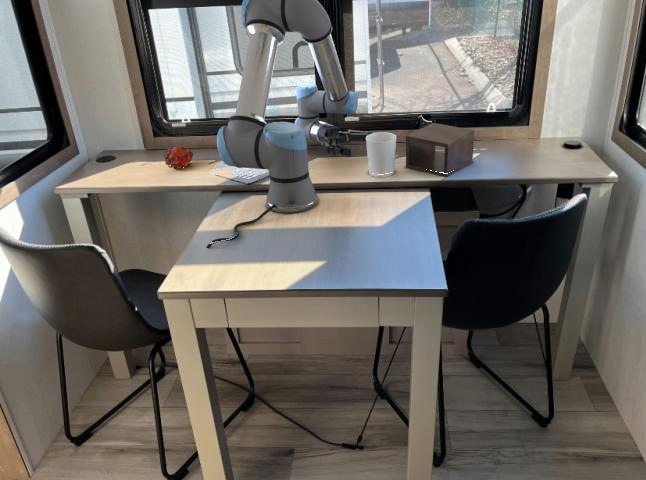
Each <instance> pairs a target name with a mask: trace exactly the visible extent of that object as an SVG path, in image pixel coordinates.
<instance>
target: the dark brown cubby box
mask: <svg viewBox="0 0 646 480" xmlns="http://www.w3.org/2000/svg"><path fill="white" fill-rule="evenodd" d="M475 132H476V130H475V129H470V128H464V127H459V126H452V125H448V124H442V123H435V122H432V123H430V124H427V125H426V126H424V127H422V128H419V129H417V130H415V131H413V132H411V133H409V134H406V135H405V168H406V169H410V170H414V171H419V172H421V173H422V172H423V173H427V174H431V175H436V176H440V177H444V178H448V177H450V176H452V175H453V174H455V173H456V172H459V171H460V170H462V169H463V168H465V167H467V166H468V165H470V164H472V163H473V159H474V147H475V146H474V144H475V134H476V133H475ZM436 147H441V148H444V152H443V151H438V150H436ZM426 169H427V170H426ZM430 170H432V171H430ZM453 170H454V171H453ZM435 171H437V172H435ZM451 171H452V172H451ZM439 172H444V173H448V174H443V173H439ZM449 172H450V173H449Z"/></svg>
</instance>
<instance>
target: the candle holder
mask: <svg viewBox="0 0 646 480" xmlns="http://www.w3.org/2000/svg"><path fill="white" fill-rule="evenodd" d="M365 144H366V155H367V167H368V173H369V175H370V176H371V177H375V178H387V177H390V176H393V175H394V173H395V167H396V166H395V165H396V150H397V149H396V148H397V135H396V134H395V133H392V132H388V131H387V132H386V131H379V132H378V131H377V132H373V133H372V134H369V135H368V136H366V141H365ZM370 172H371V173H370ZM390 172H392V173H390ZM372 173H374V174H372ZM385 173H389V174H385ZM377 174H384V175H377Z"/></svg>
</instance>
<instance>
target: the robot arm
mask: <svg viewBox="0 0 646 480" xmlns="http://www.w3.org/2000/svg"><path fill="white" fill-rule="evenodd" d="M240 7H241V8H240V15H241V17H240V19H241V24H242V26H243V28H244V30H245V33H246V36H247V37H248V38H249V39H248V44H247V49H246V56H245V58H244V66H243V71H242V76H241V81H240V86H239V91H238V98H237V103H236V108H235V113H233V114H231V115H230V116H229V118H228V122H227V125H223V126H221V127H220V128H219V129H218V131H217V135H216V147H217V152H218V155H219V157H220V159H221V161H222V162H223V163H225V164H226V165H228V166H233V167H237V168H255V169H267V170H269V185H268V193H267V196H266V206H267V209H266V210H264V211H263V212H262V213H261V214H260V215H258V216H257V217H256V218H254V219H252V220H248V221H242V222H239V223H237V224H236V225H234V227H233V231H234V233H235V235H236V234H237V233H236V232H238V234H237V236H235V235H234V236H235V237H234V236H233V237H234V238H232V239H230V240H226V239H229V238H230V237H220V238H215V239H213V240H211V241H212V242H215V241H220V242H222V241H221V240H226V241H225V242H232V241H234V240H236V239H238V238H239V236H240V233H239V230H238V228H240V227H241V226H247V225H252V224H255V223H257V222H258V221H260V220H262V218H264V217H265V216H266V215H267V214H268V213H269V212H271V211H273V212H275V213H282V214H293V213H301V212H304V211H308V210H309V209H311V208H313V207H315V206H316V205H317V203H318V192H317V191H316V190H315V187H314V185H313V182H312V180H311V177H310V171H309V170H310V168H309V157H308V142H307V140H308V141H312V142H314V143H317V144H319V146H320V147H322V148H323V150H324V151H325V153H326V154H327V155H329V154H330V155H331V153H332V156H336V155H337V154H339V155H341V156H344V157H347V158H351V157H352V151H351V149H352V148H350V147H347V146H345V145H341V144H350V143H351V142H366V136H368V135H369V134H372V133H374V132H373V131H369V130H368V131H367V130H354V129H347V130H346V131H342V130H341V129H339V127H338V126H337V125H334V124H330V123H328V122H324V121H321V120H320V114H333V115H335V114H337V115H353V114H355V113H356V112H357V111H358V106H359V97H358V94H357V93H356V92H355V91H352V90H348V85H347V83H346V79H345V77H344V73H343V70H342V67H341V63H340V59H339V56H338V54H337V50H336V47H335V43H334V40H333V37H332V31H333V25H332V21H331V19H330V17H329V15H328V12H327V11H326V10H325V8H324V7H323V5H322V4H321V2H319V0H242V3H241V6H240ZM286 33H298V34H300V35H301V38H302V40H303V41H304V42H305V43H307V45H308V47H309V49H310V50H309V51H310V53H311V55H312V59H313V61H314V64H315V67H316V69H317V73H318V74H319V77H320V80H321V83H322V86H323V89H324V90H318V86H317V85H316V84H315V83H311V82H310V83H309V82H308V83H307V82H306V83H301V84H299V85H297V87H296V90H295V91H296V93H295V94H296V99H295V100H296V105H297V115H298V117H297V118H296V119H295V120H294V123H293V122H289V121H278V122H277V121H273V122H269V123H267V122H266V120H265V119H266V118H265V116H266V111H267V107H268V101H269V96H270V91H271V86H272V85H271V84H272V79H273V73H274V69H275V62H276V58H277V51H278V47H279V46H280V45H281V44H283V43H284V41H285V36H286ZM220 242H219V243H220ZM214 244H215V243H213V244H209V243H208V244H207V245H206V247H205V249H206V248H208V249H210V248H211V247H212V245H214ZM208 249H207V250H208Z"/></svg>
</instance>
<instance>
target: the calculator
mask: <svg viewBox="0 0 646 480" xmlns="http://www.w3.org/2000/svg"><path fill="white" fill-rule="evenodd" d="M227 167H231V168H233V169H231V170H232V172H234V173H232V172H231V171H230V172H227V174H230V173H231V174H230V175H234V174H235V175H234V176H238V175H239V177H242V176H244V175H247V176H244V177H242V178H246V177H248V176H252V175H253V174H254V175H253V176H252V177H256V176H258V175H262V174H265V173H268V172H269V170H267V169H255V168H237V167H233V166H228V165H226V164H225V163H224V162H223V163H221V164H219V165H216V166H214V167H212V168H210V169H209V170H211V169H216V168H218V169H219V168H221V169H222V168H227ZM211 171H212V170H211ZM236 173H238V174H236ZM209 174H210V175H212V176H215V175H214V174H215V173H211V172H209ZM240 174H242V175H240ZM216 175H217V174H216ZM252 177H248V178H246V179H250V178H252ZM267 177H270V175H269V174H267V175H264V176H262V177H260V178H258V179H260V180H262V179H264V178H267ZM260 180H259V181H260Z"/></svg>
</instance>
